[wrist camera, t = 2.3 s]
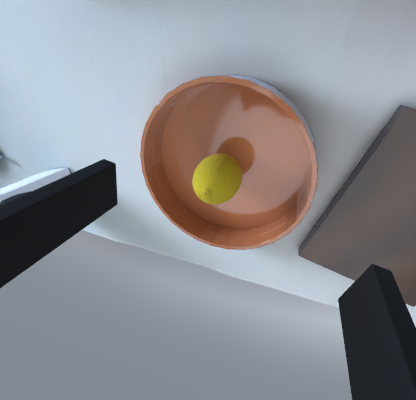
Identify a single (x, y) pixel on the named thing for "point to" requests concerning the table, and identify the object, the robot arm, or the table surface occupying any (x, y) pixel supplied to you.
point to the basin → (238, 149)
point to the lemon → (217, 179)
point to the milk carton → (33, 182)
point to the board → (374, 212)
